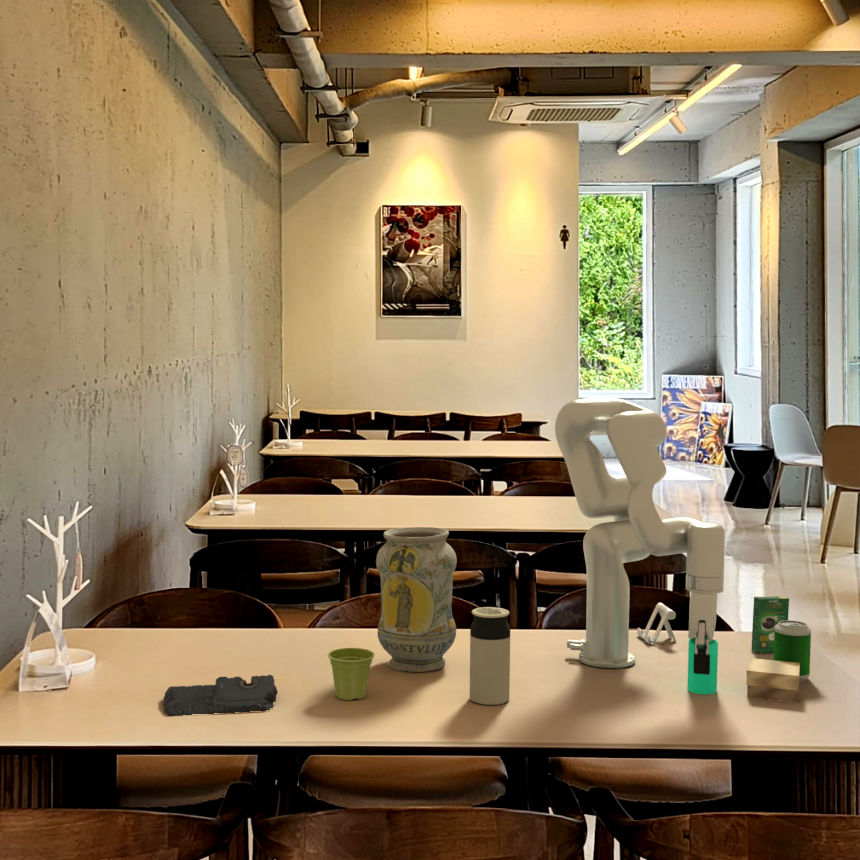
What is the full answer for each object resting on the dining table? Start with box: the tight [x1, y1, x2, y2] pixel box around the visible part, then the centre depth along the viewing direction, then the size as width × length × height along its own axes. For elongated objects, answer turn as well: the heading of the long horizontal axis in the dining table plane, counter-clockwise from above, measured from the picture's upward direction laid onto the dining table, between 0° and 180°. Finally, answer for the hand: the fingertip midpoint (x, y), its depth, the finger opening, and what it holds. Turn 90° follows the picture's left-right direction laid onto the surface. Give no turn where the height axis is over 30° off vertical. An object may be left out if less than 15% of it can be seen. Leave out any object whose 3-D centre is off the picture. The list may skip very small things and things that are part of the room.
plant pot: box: [327, 647, 375, 701], centre depth 220 cm, size 9×9×9 cm
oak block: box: [745, 657, 800, 691], centre depth 225 cm, size 10×10×3 cm
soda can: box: [773, 619, 812, 683], centre depth 235 cm, size 8×8×12 cm
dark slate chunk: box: [163, 674, 278, 717], centre depth 216 cm, size 15×22×5 cm
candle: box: [686, 636, 719, 695], centre depth 226 cm, size 6×6×12 cm
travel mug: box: [469, 606, 511, 706], centre depth 218 cm, size 8×8×18 cm
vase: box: [375, 526, 458, 673], centre depth 243 cm, size 18×18×30 cm
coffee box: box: [750, 595, 790, 654], centre depth 256 cm, size 8×3×13 cm, turn 103°
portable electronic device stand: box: [636, 602, 677, 645], centre depth 266 cm, size 9×8×8 cm
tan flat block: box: [746, 685, 800, 703], centre depth 225 cm, size 10×10×3 cm
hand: (702, 669), depth 226 cm, fingers closed on candle, 4 cm apart
